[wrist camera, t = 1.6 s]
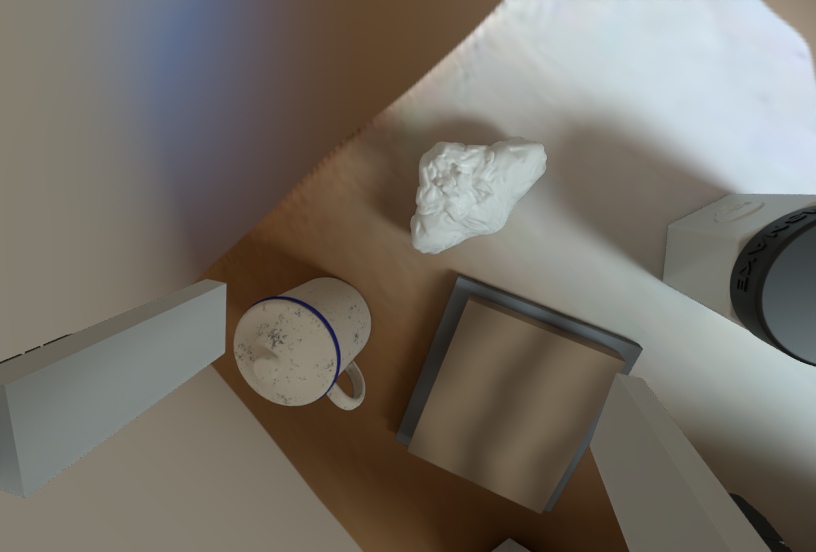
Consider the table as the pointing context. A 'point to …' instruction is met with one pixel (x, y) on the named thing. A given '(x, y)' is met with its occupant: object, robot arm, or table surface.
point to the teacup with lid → (304, 343)
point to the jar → (752, 266)
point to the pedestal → (511, 393)
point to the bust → (471, 189)
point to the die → (510, 547)
